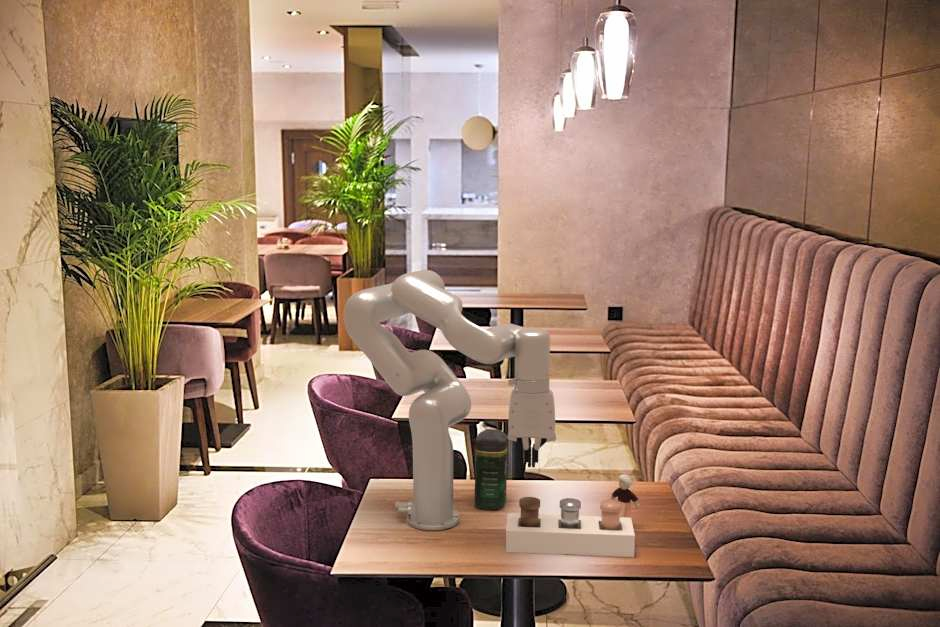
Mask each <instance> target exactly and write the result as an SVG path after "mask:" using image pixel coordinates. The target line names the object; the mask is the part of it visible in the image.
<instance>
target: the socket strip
mask: <svg viewBox="0 0 940 627" xmlns="http://www.w3.org/2000/svg"><path fill="white" fill-rule="evenodd" d="M601 518H602V516H595V515H593V516H592V515H579V529H566V528H561V514H541V513H539V515H538V527H521V526H520V521H521V513H515V512H513V513H512V512H511V513H507V520H506V527H505V528H506V529H505V530H506V531H505V553H518V554H519V553H523V554H540V553H541V554H542V555H543V554H546V555H565V554H575V555H574V556H590V555H592V557H593V556H595V557H619V558H620V557H621V558H622V557H623V558H635V542H636V540H635V539H636V535H635V530H634V525H633V521H632V517H630V518H625V517H620V522H619V530H601Z"/></svg>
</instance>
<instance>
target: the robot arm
mask: <svg viewBox="0 0 940 627" xmlns="http://www.w3.org/2000/svg"><path fill="white" fill-rule="evenodd" d="M462 312H463V301H462V299H461V297H459V296H457V295H455V294H454V293H452V292H450V291H448V290H446V288H445V282H444V280H443V278H442V277H441V276H440V274H438V273H437V272H435V271H433V270H429V269H421V270H417V271H416V270H415V271H411V272H407V273H404V274H401V275H400V276H398V277H397V278H396V279H395V280H394V281H393V282H391V283H387V284H383V285H382V284H381V285H379V286H378V285H377V286H373V287H369V288H365V289H361V290H359V291H356V292H355V293H353V294H352V295H351V296H350V297H349V298H348V299H347V300H346V302H345V305H344V308H343V323H344V327H345V331H346V333H347V335H348V336H349V338H350V339H351V341H352V342H353V343H354V344H355V345H356V346H357V347H358V349H359V350H360V351H361V352H362V353H363V354H364V355H365V356H366V357H367V359H368V360H369V361H370V363H371V364H372V365H373V367H374V368H375V369H376V371H377V372H378V373H379V375H380V376H381V377H382V378H383V380H384V381H385V382H386V383H387V384H388V386H389V388H391V390H392V391H393V392H394V393H395V394H396V395H398V396H401V397H409V396H412V395H415V394H417V393H420V392H424V393H422V394H420V395H418V396H417V397H416V398H415V399H414V400H413V401H412V403H411V404H410V406H409V410H408V422H409V427H410V432H411V438H412V439H411V440H412V475H413V476H412V488H413V489H412V493H413V494H412V495H413V498H412V500H409V501H408V502H407V501H406V502H405V501H395V503H394V510H396V511H398V513H399V514H404V513H406V514H407V515H406V522H407V523H408V525H410V526H411V527H413V528H415V529H418V530H422V531H423V530H424V531H443V530H446V529H449V528H453V527H455V526H457V525H458V524H459V522H460V520H461V516H460V513H459V512H458V511H457V510H455V509H454V446H453V441H452V437H451V436H450V431H449V428H450V427H451V426H453V425H455V424H458V423H460V422H461V421H464V420H465V419H466V418H467V417H468V415H469V414H470V411H471V409H472V399H471V396H470V394H469V392H468V389H466V387H465V386H464V384H462V382H461V381H460V380H459V378H458V377H457V376H456V374H455V373H454V372H453V370H452V369H451V368H450V367H449V366H448V365H447V364H446V362H445V361H444V360H443V358H442V357H440V356H439V355H438V354H437V353H435V352H433V351H432V350H428V349H418V350H416V351H412V352H411V351H410V350H408V349H407V348H406V347H405V345H404V344H403V343H402V341H400V339H399V337H397V336H396V335H395V334H394V333H393V332H392V331H390V330H389V329H387V328H386V327H384V326H383V325H381V323H382V322H385V321H388V320H393V319H397V318H399V317H402V316H405V315H407V314H412V315H414V316H415V317H417V318H419V319H421V320H422V321H424V322H426V323H428V324H430V325H431V326H433V327H434V328H437V329H439V330H440V331H441V332H442V335H443V337H444V339H445V340H446V341H447V342H448V344H449V345H450V346H451V347H453V349H455V350H456V351H458V352H459V353H461V354H463V355H464V356H466V357H469V358H470V359H471V360H473V361H476V362H477V363H478V362H479V364H480V363H481V364H484V365H493V364H496V363H498V362H501V361H503V360H506V359H510V358H513V357H514V377H513V378H511V379H508V380H507V381H508V382H507V383H508V384H507V385H508V386H510V387H513V388H514V389H512V391H511V393H510V397H509V398H510V399H509V405H508V422H507V423H508V433H507V440H510V441H513V442H517V443H518V444H519V445H520V446H521V447H522V448H523V450H524V463H527V468H536V463H537V464H538V463H539V451H540V448H541V447H542V446H544V445H545V444H546V443H550V442H555V441H556V440H557V436H556V411H555V410H556V408H555V407H556V405H555V398H554V394H553V391H552V389H550V375H551V373H550V371H551V370H550V366H551V364H550V361H551V359H550V358H551V353H550V352H551V336H550V333H549V331H547V330H546V329H543V328H538V327H524V326H521V325H517V324H514V323H510V322H509V323H501V324H497V325H494V326H492V327H489V328H487V329H485V328H483V327H481V326H479V325H477V324H475V323H473V322H472V321H470V320H469V319H467V318H466V317H465V316H464V315H463V314H462ZM530 439H534V443H533V444H532V446H531V443H530Z"/></svg>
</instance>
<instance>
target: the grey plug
mask: <svg viewBox="0 0 940 627" xmlns="http://www.w3.org/2000/svg"><path fill="white" fill-rule="evenodd" d="M581 507H582V501H581V500H579V499H576V498H573V497H572V498H571V497H570V498H569V497H568V498H566V497H565V498H562V499H559V509H560V515H561V528H566V529H579V516H580V510H581Z"/></svg>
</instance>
